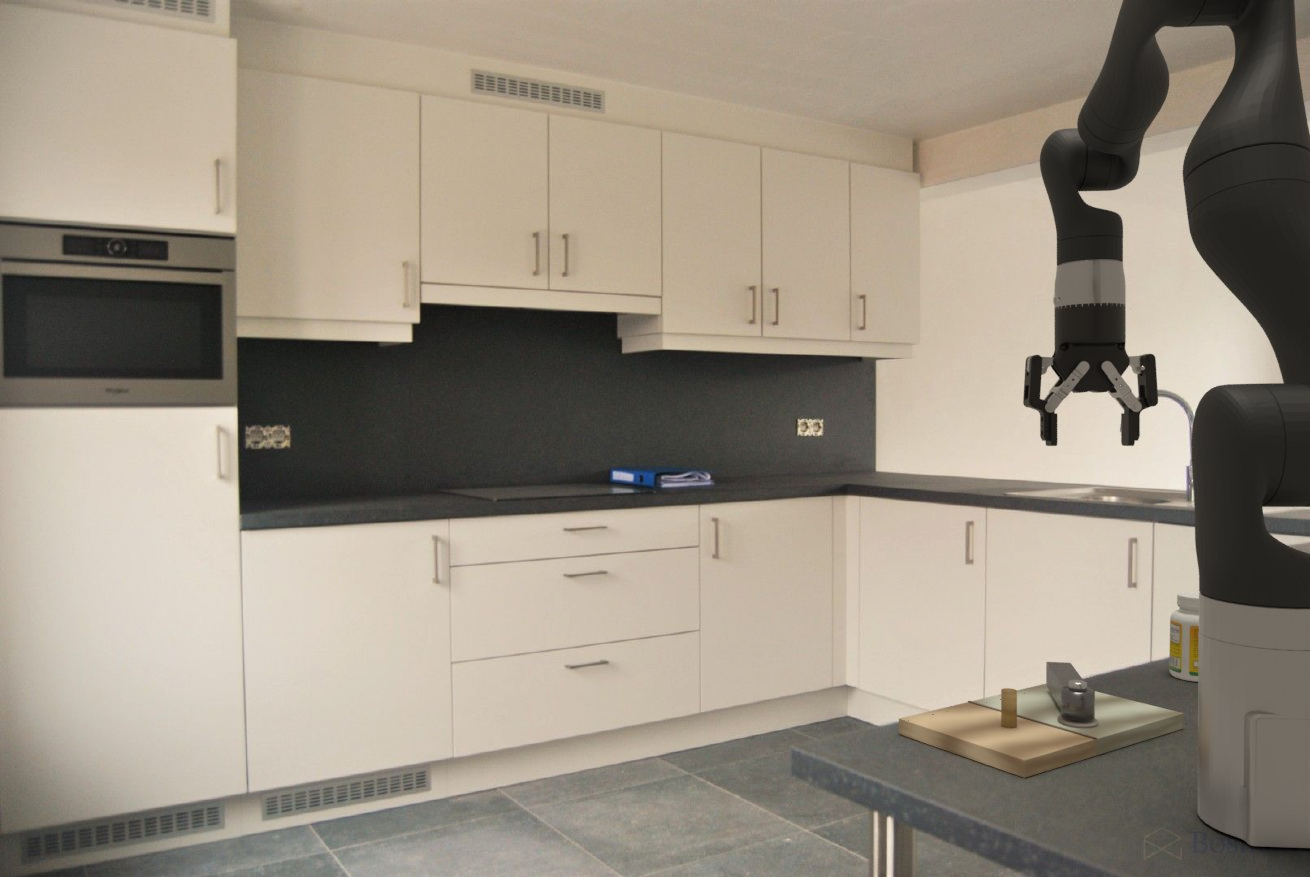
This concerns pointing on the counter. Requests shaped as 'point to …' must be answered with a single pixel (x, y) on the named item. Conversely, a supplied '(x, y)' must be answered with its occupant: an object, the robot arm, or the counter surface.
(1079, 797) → the counter surface
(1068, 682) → the lock bar
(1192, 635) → the supplement bottle
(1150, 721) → the lock plate
